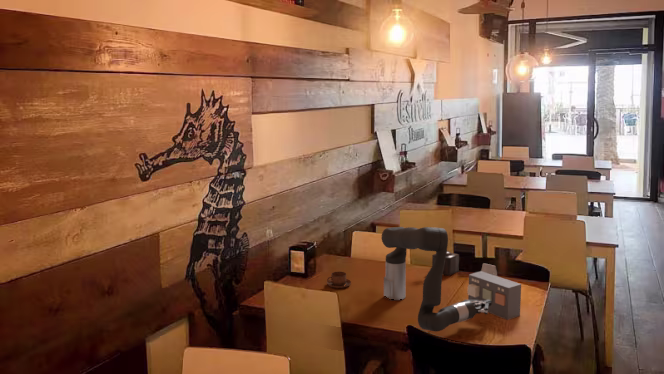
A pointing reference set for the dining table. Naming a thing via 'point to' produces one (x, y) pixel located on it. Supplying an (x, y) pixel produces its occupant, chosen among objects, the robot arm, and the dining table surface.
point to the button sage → (487, 294)
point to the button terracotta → (500, 299)
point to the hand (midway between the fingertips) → (490, 302)
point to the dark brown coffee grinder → (449, 263)
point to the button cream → (473, 290)
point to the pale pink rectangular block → (489, 269)
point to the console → (500, 286)
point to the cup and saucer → (338, 280)
